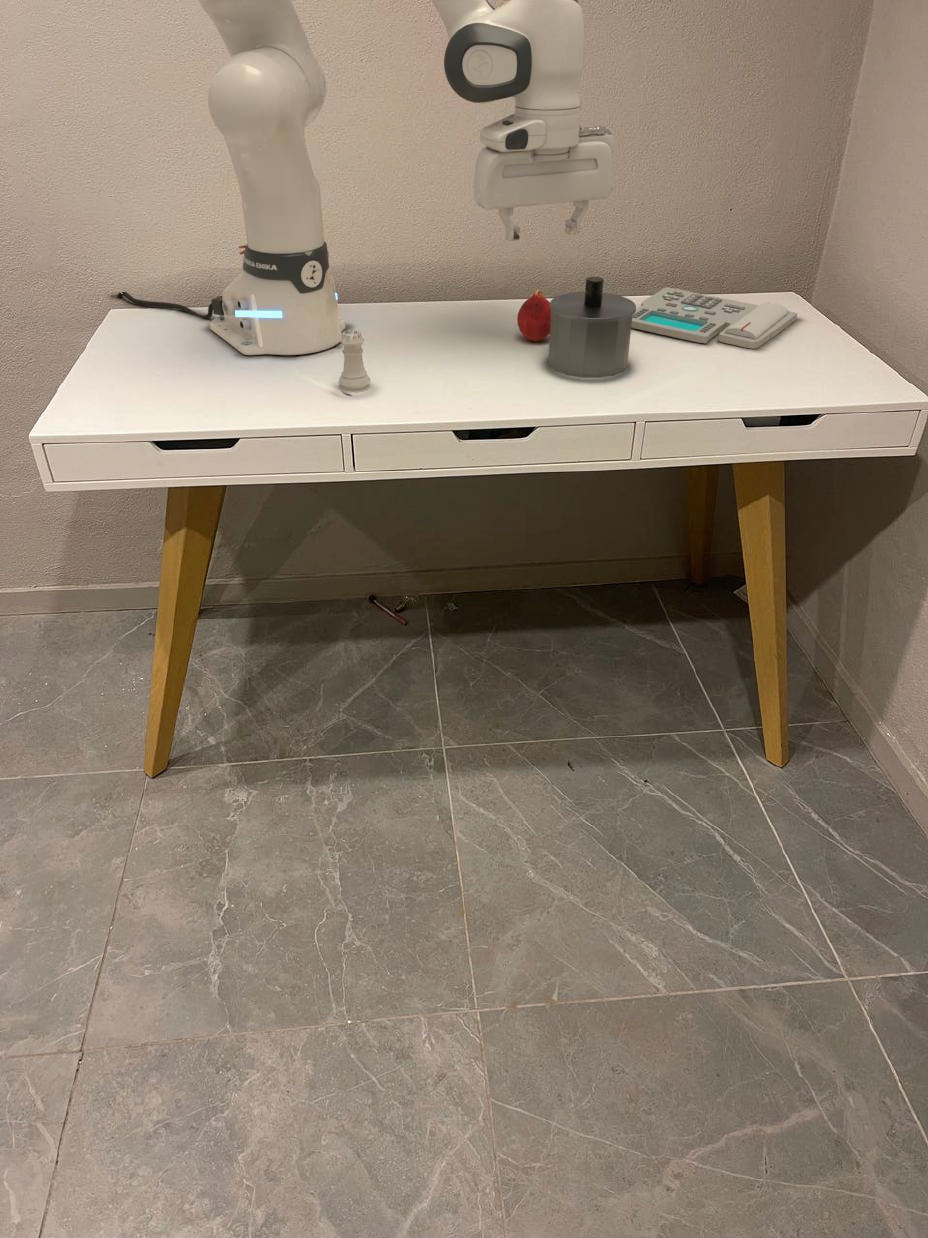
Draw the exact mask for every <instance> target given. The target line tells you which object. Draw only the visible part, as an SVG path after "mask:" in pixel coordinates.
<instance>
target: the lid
mask: <svg viewBox="0 0 928 1238" xmlns="http://www.w3.org/2000/svg"><path fill="white" fill-rule="evenodd" d="M549 302H550V309H551V311H552V312H554V313H555V314H557V315H559V316H561V317H564V318H568V319H572V320H578V321H586V322H609V321H617V320H622V319H625V318H628V317H630V316H632V315H633V314H634V313H635V312H636V310H637V305H636V303H635V301H633V300H631V299H630V298H627V297H625V296H622V295H619V294H614V293H609V292H604V278H603V277H601V276H588V277H586V278H585V289H584V291H576V292H568V293H563V294H559V295H557V296H555V297H553V298H552V299H551V300H550V301H549Z"/></svg>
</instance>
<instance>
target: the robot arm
mask: <svg viewBox="0 0 928 1238" xmlns="http://www.w3.org/2000/svg"><path fill="white" fill-rule="evenodd" d="M198 2H199V3H200V6H201V7H202V9H203V11H204V12H205V13H206V14H207V16H209V18H210V19H211V21H212V22H213V24H214V26H215V27H216V30H217V31H218V33H219V35H220V37H221V39H222V41H223V43H224V45H225V47H226V49H227V51H228V53H229V55H230V57H229V58H228V59H226V61H225V62H224V63H223V64H222V65H221V66H220V68H219V69H218V70H217V72H216V73H215V75H214V76H213V78H212V80H211V82H210V84H209V87H208V93H207V94H208V95H207V104H208V110H209V113H210V116H211V119H212V121H213V124H214V125H215V127H216V128H217V130H218V131H219V132H220V133H221V134H222V136H223V138H224V141H225V144H226V148H227V151H228V153H229V156H230V159H231V162H232V166H233V169H234V173H235V175H236V179H237V183H238V188H239V191H240V197H241V204H242V213H243V219H244V229H245V236H246V237H245V238H246V244H244V245H240V246H238V249H243V250H241V251H240V252H238V254H239V255H243V259H242V271H240V273H239V274H238V275H237V276H236V277H235V278H234V279H232V281H231V282H230V283H229V284H228V285H227V286H226V287H225V288H224V290H223V292H222V295H219V296H217V297H214V298H211V302H210V304H209V305H208V307H207V313H206V314H199V313H197V312H195V311H194V310H192V309H191V308H189V307H187V306H184V305H182V304H178V303H174V302H173V303H171V302H164V301H153V300H142V299H139V298H135V297H133V296H132V295H131V294H130V293H128V292H127V291H125V292H122V293H123V294H121V293H120V291H119V292H118V293H117V295H116V298H117V299H122V298H123V296H124V297H125V298H126V299H127V300H128V301H130V302H131V303H133V304H135V305H142V306H147V307H158V308H159V307H160V308H168V309H175V310H180V311H183V312H185V313H187V314H188V315H191V316H194V317H197V318H200V319H203V320H209V319H211V318H212V316H213V315H217V316H219V317H216V318H214V319H213V320H211V321H210V322H209V329H210V330H211V331H212V332H214V333H215V334H216V335H217V336H219V337H220V338H221V339H223V340H224V341H225V342H227V343H228V344H229V345H230V346H232V347H233V348H235V349H236V350H237V351H238V352H240V353H241V354H242V355H246V356H259V355H278V356H296V355H297V356H298V355H307V354H314V353H318V352H322V351H326V350H329V349H331V348H333V347H336V346H337V345H338V344H340V343H341V342H340V339H341V337H342V332H344V330H345V329H346V321H345V320H344V319H343V318H341V316H340V309H339V304H338V299H339V298H338V293H337V292H336V285H335V280H334V277H333V276H332V275H331V274H330V273H329V272H328V270H329V269H330V261H329V258H330V252H329V250H328V243H327V241H325V238H324V223H323V212H322V210H323V209H322V198H321V188H320V187H321V186H320V184H319V181H318V180H317V178H316V176H315V174H314V171H313V167H312V164H311V160H310V157H309V153H308V148H307V145H306V139H305V129H306V128H307V127H309V126H310V125H311V124H313V123H314V122H315V120H316V119H317V117H318V116H319V114H320V113H321V110H322V108H323V106H324V103H325V99H326V95H327V81H326V80H327V79H326V76H325V72H324V70H323V68H322V65H321V63H320V62H319V61H318V60H317V58H316V57H315V55H314V52H313V50H312V48H311V45H310V43H309V40H308V37H307V35H306V32H305V30H304V27H303V25H302V23H301V21H300V19H299V15H298V13H297V11H296V9H295V6H294V4H293V2H292V0H198ZM431 2H432V4H433V6H434V7H435V9H436V11H437V13H438V15H439V17H440V19H441V21H442V22H443V24H444V26H445V29H446V32H447V35H448V43H447V45H446V48H445V51H444V56H443V68H444V73H445V78H446V80H447V83H448V84H449V86H450V88H451V89H452V90H453V91H454V93H456V95H458V96H459V98H461V99H463V100H465V101H468V102H470V103H474V104H478V105H479V104H481V105H482V104H483V105H484V104H489V103H492V102H495V101H499V100H504V99H508V98H514V113H511V114H510V115H508V116H505V117H504V118H502V119H500V120H497V121H495V122H492V123H489V124H488V125H486V126H484V127H482V129H481V130H480V133H479V139H480V143H481V144H482V145H483V146H484V147H482V149H480V151H479V153H478V154H477V157H476V159H475V167H474V175H473V199H474V201H475V202H476V204H477V206H479V207H481V209H484V210H486V211H490V210H497V214H498V216H499V218H500V219H501V222H502V223H503V225H504V227H505V229H504V230H505V232H504V234H505V236H504V237H505V240H507V241H508V242H513V241H519V240H520V238H521V236H520V232H521V227H519V226H518V225H516V224H514V223H513V221H512V219H511V217H512V216H514V208H523V207H531V206H532V207H533V206H543V205H554V204H564V203H572V206H573V207H575V208H574V211H573V213H572V215H571V217H570V218H568V219H565V221H564V222H565V224H564V225H565V228H564V232H565V234H567V235H569V236H570V235H578V234H580V229H581V221H582V220H583V218H584V216H585V214H586V213H587V211H588V209H589V201H595V200H605V199H608V198H609V197H610V195H611V194H612V192H613V189H614V164H613V153H614V145H615V137H614V135H613V132H612V131H611V130H610V129H607V127H606V126H604V125H597V126H593V127H592V126H582V127H581V111H582V110H581V109H582V100H581V95H580V81H581V77H582V74H583V70H584V58H585V23H584V21H585V20H584V13H583V7H582V6H581V4H580V3H579V1H578V0H509V1H507V2H506V3H504V4H503V5H500V6H499V7H497V8H495V7H494V6H493V5H492V4H491V3H490V2H489V0H431Z"/></svg>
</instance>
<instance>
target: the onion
mask: <svg viewBox="0 0 928 1238" xmlns="http://www.w3.org/2000/svg"><path fill="white" fill-rule="evenodd" d="M550 302H551V301H549V300H548V299H547V298H546V297H544V296H543V291H542V290H540V289H536V290H535V291H534V293H533V295H532V296H531V297H529V298H527V299H526V300H525V301H524V302H523V303H522V305H521V306H520V308H519V310H518V312H517V318H516V322H517V327H518V329H519V331H520V333H521V334H522V336H523V337H524V338H526V339H527V340H528V341H530V342H534V343H538V342H541V341H543V340H544V339H546V338H547V337H548V336H550V322H551V309H550Z"/></svg>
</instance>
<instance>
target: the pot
mask: <svg viewBox="0 0 928 1238" xmlns="http://www.w3.org/2000/svg"><path fill="white" fill-rule="evenodd" d="M631 325H632V316H630V317H628V318H625V319H622V320H617V321H609V322H586V321H578V320H572V319H568V318H564V317H561V316H559V315H557V314H555V313H554V312H552V311H551V322H550V334H549V340H548V341H549V342H548V358H547V360H548V366H549V367H550V368H551V369H553V370H554V371H555V372H558V373H561V374H563V375H566V376H571V377H577V378H582V379H584V378H585V379H600V378H607V377H613V376H616V375H618V374H621V373H623V372H625V370H626V369H627V367H628V363H629V354H630V353H629V352H630V343H631V342H630V341H631V334H632V328H631Z"/></svg>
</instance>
